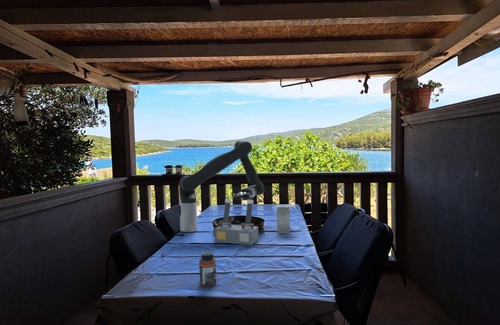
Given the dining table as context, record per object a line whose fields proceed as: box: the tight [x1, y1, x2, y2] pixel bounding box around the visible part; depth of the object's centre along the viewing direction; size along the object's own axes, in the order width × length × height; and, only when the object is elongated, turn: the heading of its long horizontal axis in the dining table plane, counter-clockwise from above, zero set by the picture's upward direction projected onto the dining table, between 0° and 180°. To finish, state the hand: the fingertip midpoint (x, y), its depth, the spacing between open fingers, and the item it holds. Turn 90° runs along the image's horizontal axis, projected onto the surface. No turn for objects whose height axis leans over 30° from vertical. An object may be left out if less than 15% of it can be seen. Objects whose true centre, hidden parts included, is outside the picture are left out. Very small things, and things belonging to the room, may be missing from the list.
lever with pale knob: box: [222, 198, 232, 226], centre depth 172 cm, size 3×2×14 cm, turn 68°
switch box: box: [214, 220, 259, 246], centre depth 168 cm, size 21×10×10 cm, turn 68°
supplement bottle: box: [198, 251, 217, 287], centre depth 114 cm, size 6×6×11 cm
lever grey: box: [244, 199, 254, 227], centre depth 167 cm, size 3×2×14 cm, turn 68°
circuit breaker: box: [276, 204, 291, 234], centre depth 188 cm, size 8×14×15 cm, turn 174°
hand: (236, 197), depth 183 cm, fingers closed
